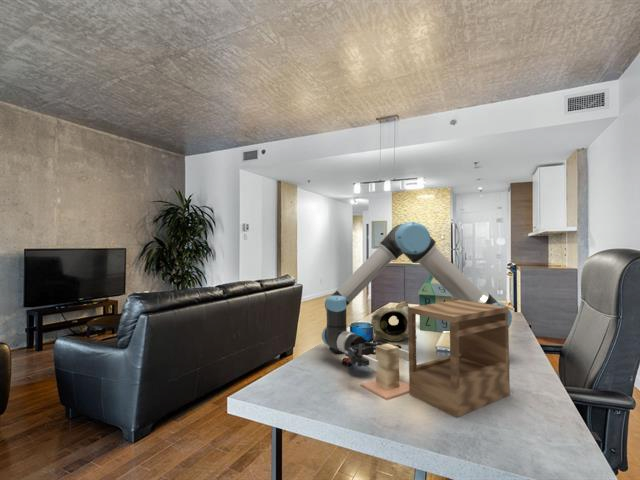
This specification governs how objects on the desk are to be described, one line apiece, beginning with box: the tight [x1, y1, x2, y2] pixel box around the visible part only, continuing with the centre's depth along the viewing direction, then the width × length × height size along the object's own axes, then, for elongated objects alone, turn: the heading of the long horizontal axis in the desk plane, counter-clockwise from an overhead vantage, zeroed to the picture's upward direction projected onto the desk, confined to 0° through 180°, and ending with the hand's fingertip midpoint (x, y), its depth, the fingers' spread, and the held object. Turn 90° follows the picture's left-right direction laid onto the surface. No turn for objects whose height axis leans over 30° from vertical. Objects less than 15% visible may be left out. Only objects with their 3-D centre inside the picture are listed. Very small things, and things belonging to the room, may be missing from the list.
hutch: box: [408, 300, 511, 418], centre depth 101 cm, size 24×16×26 cm, turn 121°
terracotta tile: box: [359, 378, 409, 401], centre depth 106 cm, size 12×12×1 cm
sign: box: [329, 339, 391, 369], centre depth 137 cm, size 27×2×30 cm
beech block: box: [375, 343, 400, 390], centre depth 106 cm, size 5×5×12 cm
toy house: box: [417, 273, 456, 334], centre depth 178 cm, size 17×16×30 cm
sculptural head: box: [370, 300, 410, 342], centre depth 163 cm, size 17×21×25 cm
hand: (395, 361), depth 103 cm, fingers open, 13 cm apart
